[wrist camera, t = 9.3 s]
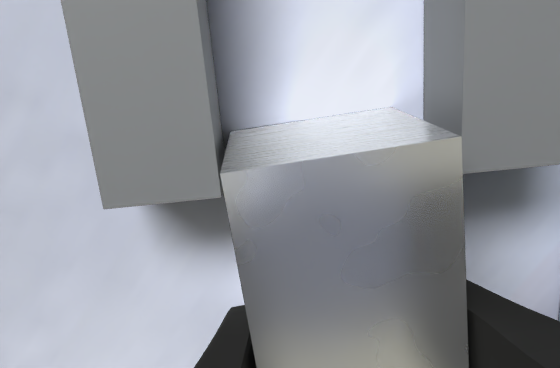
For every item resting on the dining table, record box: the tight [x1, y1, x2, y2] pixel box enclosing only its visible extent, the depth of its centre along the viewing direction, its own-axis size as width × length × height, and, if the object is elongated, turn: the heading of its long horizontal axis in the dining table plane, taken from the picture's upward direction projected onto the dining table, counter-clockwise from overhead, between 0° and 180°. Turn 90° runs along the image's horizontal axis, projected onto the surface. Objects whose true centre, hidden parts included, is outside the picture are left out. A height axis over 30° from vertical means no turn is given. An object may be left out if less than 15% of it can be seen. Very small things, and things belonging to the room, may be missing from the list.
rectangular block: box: [220, 107, 469, 368], centre depth 11 cm, size 4×10×4 cm, turn 9°
